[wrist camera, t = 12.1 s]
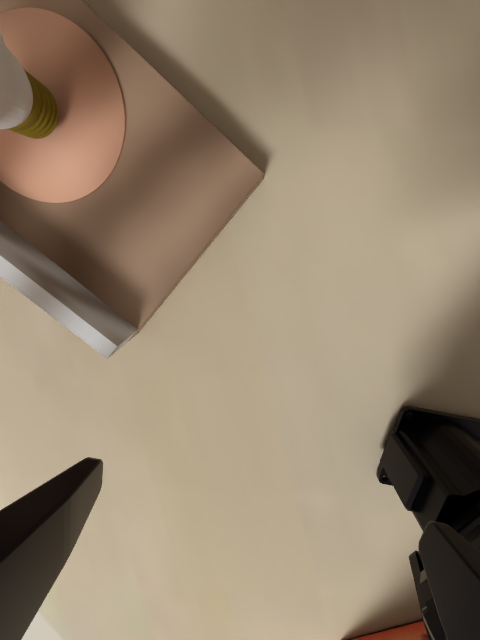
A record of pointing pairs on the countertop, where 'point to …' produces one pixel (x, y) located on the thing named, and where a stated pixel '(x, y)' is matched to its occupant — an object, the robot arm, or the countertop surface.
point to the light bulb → (24, 99)
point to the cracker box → (400, 633)
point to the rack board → (107, 178)
